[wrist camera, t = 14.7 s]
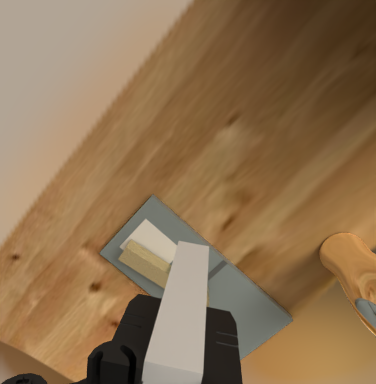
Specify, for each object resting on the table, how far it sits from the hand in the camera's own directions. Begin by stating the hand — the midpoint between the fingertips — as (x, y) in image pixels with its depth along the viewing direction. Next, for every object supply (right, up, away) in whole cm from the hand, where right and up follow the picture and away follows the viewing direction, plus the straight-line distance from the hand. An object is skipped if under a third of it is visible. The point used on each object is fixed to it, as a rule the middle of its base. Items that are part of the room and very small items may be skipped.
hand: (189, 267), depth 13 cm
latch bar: (-3, -8, +25) cm, 26 cm away
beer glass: (+22, -5, +24) cm, 33 cm away
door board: (+1, -10, +27) cm, 29 cm away
